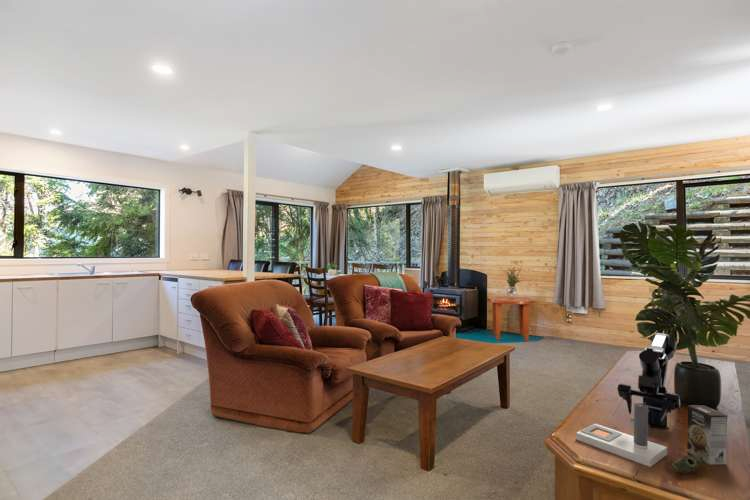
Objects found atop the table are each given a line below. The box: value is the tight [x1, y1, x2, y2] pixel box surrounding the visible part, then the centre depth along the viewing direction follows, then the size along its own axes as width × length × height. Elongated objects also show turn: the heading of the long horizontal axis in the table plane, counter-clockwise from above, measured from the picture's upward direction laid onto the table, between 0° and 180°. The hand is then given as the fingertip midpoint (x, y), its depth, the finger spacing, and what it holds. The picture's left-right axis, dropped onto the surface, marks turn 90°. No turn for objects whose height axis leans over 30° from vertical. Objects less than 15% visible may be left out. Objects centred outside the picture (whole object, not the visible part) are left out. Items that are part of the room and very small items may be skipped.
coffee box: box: [686, 404, 728, 466], centre depth 141 cm, size 9×6×16 cm
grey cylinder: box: [633, 402, 649, 449], centre depth 143 cm, size 4×4×14 cm
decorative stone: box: [671, 455, 704, 474], centre depth 132 cm, size 11×8×5 cm
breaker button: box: [592, 429, 611, 437], centre depth 154 cm, size 5×5×2 cm
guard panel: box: [575, 423, 668, 468], centre depth 148 cm, size 24×14×3 cm, turn 37°
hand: (644, 417), depth 149 cm, fingers open, 9 cm apart
